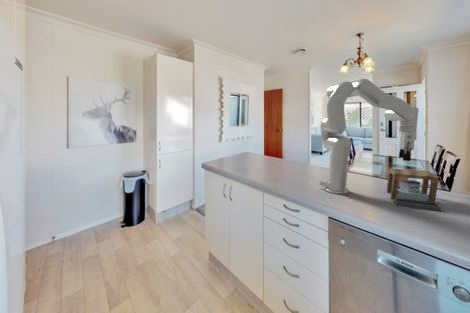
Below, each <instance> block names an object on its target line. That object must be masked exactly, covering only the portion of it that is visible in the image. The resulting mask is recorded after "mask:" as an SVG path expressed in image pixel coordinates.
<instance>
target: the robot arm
mask: <svg viewBox="0 0 470 313" xmlns="http://www.w3.org/2000/svg"><path fill="white" fill-rule="evenodd" d="M326 97H327V98H328V100H327V102H326V114H327V115H326V116H325V118H323V119H322V120H321V123H320V126H319V127H320V134H321V140H322V146H323V147H324V149H326V150H327V151H330V152H331V154H330V156H329V161H328V162H329V163H328V178H327V179H328V180H327V181H325V182H324V181H319V186H321V187H324V191H326V192H328V193H331V194H336V195H339V194H340V195H345V194H349V192H350V189H348V188H347V179H348V168H349V157H350V152H351V149H352V142H351V139H349V138H348V137H347V136H344V135H339V134H342V133H344V132H345V131H346V128H347V122H346V114H345V105H346V104H345V103H346V101H347V99H349V98H353V97H360V98H361V99H363V100H364V101H366V103H368V104H369V105H370V106H371V107H375V108H379V109H384V110H385V111H384V113H383V114H384V115H383V116H384V118H385V119H386V120H387V121H389V122H391V121H392V122H397V121H398V122H399V128H398V130H399V131H398V132H399V133H400V136H399V152H398V153H399V154H398V158H401V159H402V161H403V162H410V161H411V158H412V151H413V150H415V133H416V132H417V128H418V120H419V108H418V107H416V106H411V105H410V104H409V103H408V102H407V101H405V100H403V98H400V97H398V96H396V95H395V96H394V95H392V94H389V93H386V92H385V91H383V90H382V89H381V88H380V87H378V86H377V85H376V84H375V83H373V81H371V80H369V79H368V78H360V79H357V80H353V81H350V80H349V81H346V80H345V81H341V82H338V83H335V84H332V85H330V86H329V87H327V90H326Z"/></svg>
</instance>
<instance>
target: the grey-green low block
mask: <svg viewBox="0 0 470 313" xmlns="http://www.w3.org/2000/svg"><path fill="white" fill-rule="evenodd" d="M402 181H409V178H405V177H399V180H398V188H399V189H397V197H396V198H401V199H409V200H417V201H426V202H428V200H429V193H427V194H421V191H419V193H411V192H402V191H400V183H401V182H402Z"/></svg>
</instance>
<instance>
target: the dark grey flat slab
mask: <svg viewBox="0 0 470 313" xmlns="http://www.w3.org/2000/svg"><path fill="white" fill-rule="evenodd" d="M393 203H394V204H395V205H396V206H397V207H406V208H411V209H413V208H414V209H421V210H422V209H423V210H427V211H437V212H441V211H442V207H441V206H440V205H439V204H438V203H437V202H435V203H434V202H426V201H417V200H409V199H401V198H394V200H393Z"/></svg>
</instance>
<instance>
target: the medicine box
mask: <svg viewBox="0 0 470 313" xmlns="http://www.w3.org/2000/svg"><path fill="white" fill-rule="evenodd" d="M399 190H400V191H402V192H411V193H419V192H420V191H421V182H420V181H418V180H413V179H412V180H408V181H402V182H401V183H400V188H399Z"/></svg>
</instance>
